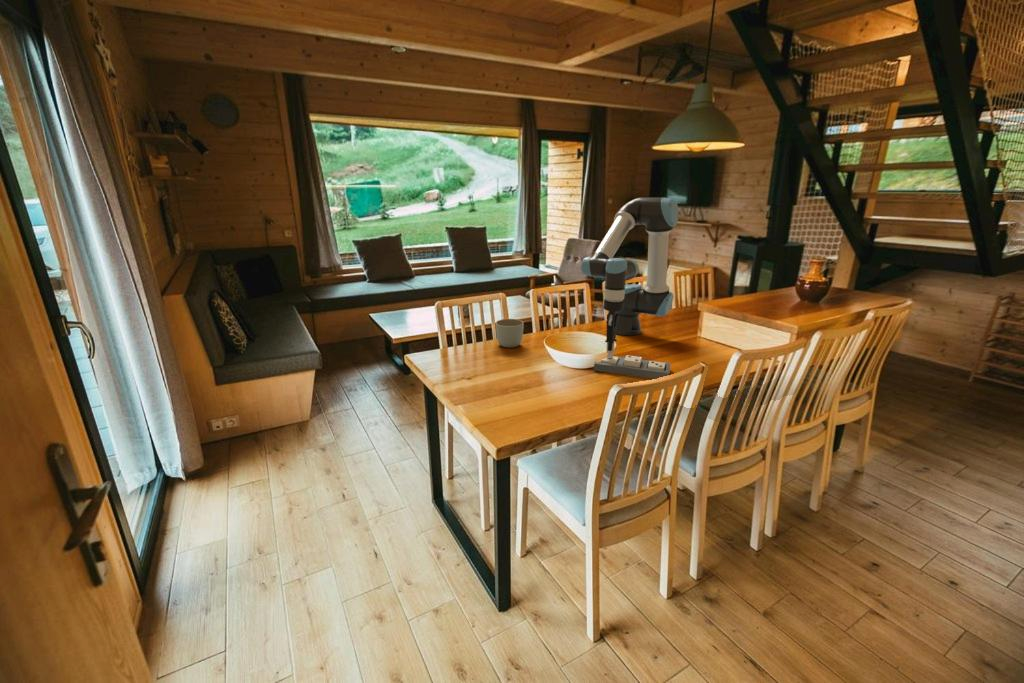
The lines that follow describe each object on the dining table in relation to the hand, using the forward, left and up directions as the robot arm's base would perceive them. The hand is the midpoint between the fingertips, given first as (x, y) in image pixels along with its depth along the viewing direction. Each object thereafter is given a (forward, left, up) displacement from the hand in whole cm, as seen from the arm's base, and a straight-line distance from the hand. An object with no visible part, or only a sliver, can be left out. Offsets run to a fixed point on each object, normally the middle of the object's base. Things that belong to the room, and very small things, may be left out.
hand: (609, 357), depth 187 cm
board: (0, +9, -4) cm, 10 cm away
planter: (-11, -47, -5) cm, 49 cm away
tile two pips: (0, +9, -2) cm, 9 cm away
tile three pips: (0, +18, -3) cm, 18 cm away
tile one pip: (0, 0, -3) cm, 3 cm away
